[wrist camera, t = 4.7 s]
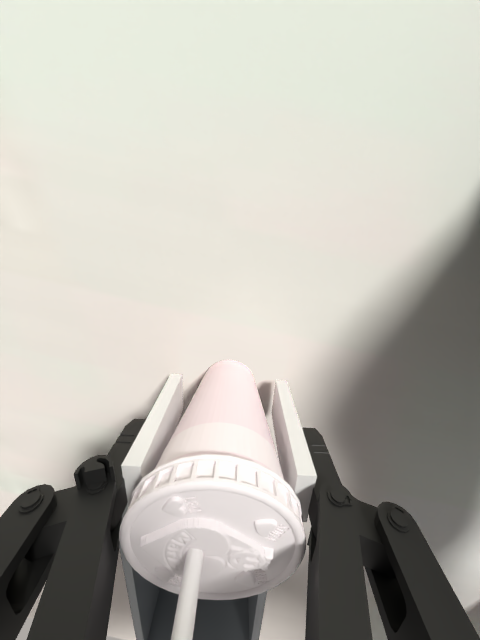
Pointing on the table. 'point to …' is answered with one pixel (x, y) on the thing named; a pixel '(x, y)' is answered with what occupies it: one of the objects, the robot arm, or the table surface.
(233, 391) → the smoothie
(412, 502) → the table surface
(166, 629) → the tray
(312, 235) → the table surface
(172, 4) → the table surface
